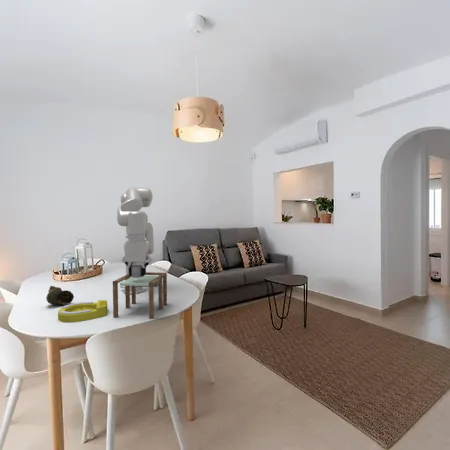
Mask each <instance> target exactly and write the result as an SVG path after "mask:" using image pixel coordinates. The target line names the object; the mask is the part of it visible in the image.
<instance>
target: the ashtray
mask: <svg viewBox="0 0 450 450" xmlns="http://www.w3.org/2000/svg"><path fill="white" fill-rule="evenodd" d="M107 315H108V300H105V299H100V300H97V301H96V302H94V301H84V302H83V301H81V302H74V303H73V302H72V303H69V304H67V305H63V306H62V307H61V308H60V309H58V311H57V320H58V321H59V322H62V323H77V322H79V323H80V322H85V321H88V320H89V321H90V320H93V319H94V320H95V319H97V318H102V317H106V316H107Z"/></svg>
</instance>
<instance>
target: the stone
mask: <svg viewBox="0 0 450 450" xmlns="http://www.w3.org/2000/svg"><path fill="white" fill-rule="evenodd" d="M141 268H142V265H133V266H131V270H132V277H133V278H139V277H143V276H141Z"/></svg>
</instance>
